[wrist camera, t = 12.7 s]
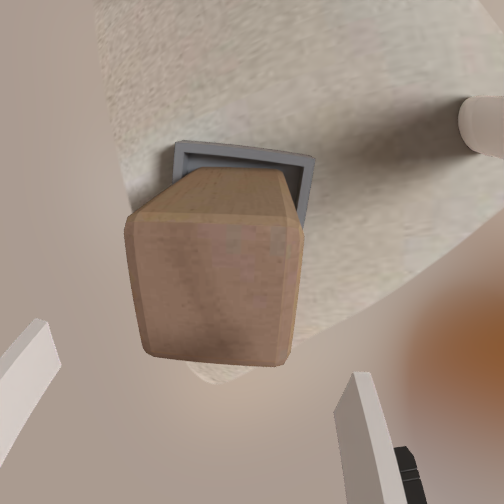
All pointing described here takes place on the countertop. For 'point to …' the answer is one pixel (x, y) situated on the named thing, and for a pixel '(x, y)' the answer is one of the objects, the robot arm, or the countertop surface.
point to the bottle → (483, 124)
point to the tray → (248, 165)
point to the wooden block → (217, 267)
